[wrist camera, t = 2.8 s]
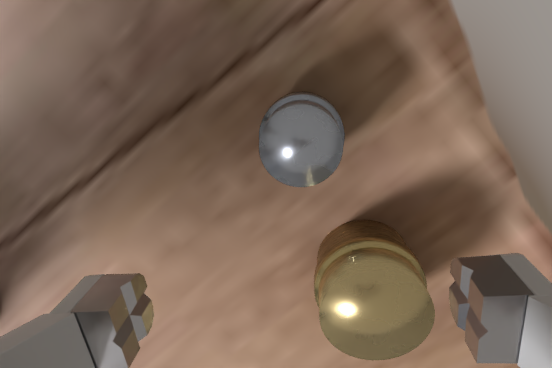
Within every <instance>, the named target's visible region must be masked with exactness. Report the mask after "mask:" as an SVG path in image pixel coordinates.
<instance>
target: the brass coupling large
mask: <svg viewBox="0 0 552 368" xmlns="http://www.w3.org/2000/svg"><path fill="white" fill-rule="evenodd" d="M314 288H315V299H316V302H317V305H318V307H319V317H320V325H321V328H322V331H323V333H324V335H325V336H326V338H327V339H328V340H329V342H330V343H331V344H332V345H333V346H335V347H336V348H337V349H339V350H340V351H342V352H344V353H346V354H348V355H350V356H353V357H356V358H360V359H366V360H386V359H392V358H395V357H399V356H401V355H404V354H406V353H408V352H410V351H412V350H413V349H415V348H416V347H417V346H419V345H420V344H421V343H422V342H423V341H424V340H425V339H426V337H427V336H428V334H429V333H430V331H431V329H432V326H433V323H434V317H435V310H434V305H433V302H432V299H431V297H430V295H429V293H428V291H427V283H426V278H425V275H424V272H423V270H422V268H421V266H420V264H419V262H418V260H417V258H416V257H415V255H414V254H413V252H412V251H411V250H410V249H409V248H408V247H407V246H406V244H405V242H404V240H403V239H402V237H401V236H400V235H399V234H398V233H397V232H396V231H395V230H394V229H392V228H391V227H389V226H387V225H385V224H383V223H380V222H376V221H370V220H358V221H352V222H348V223H346V224H343V225H341V226H339V227H337V228H336V229H334V230H333V231H331V232H330V233H329V234H328V235H327V236H326V237H325V239H324V240H323V242H322V243H321V245H320V248H319V251H318V256H317V266H316V270H315V275H314Z"/></svg>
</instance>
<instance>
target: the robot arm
mask: <svg viewBox="0 0 552 368" xmlns="http://www.w3.org/2000/svg"><path fill="white" fill-rule="evenodd" d="M450 273H451V274H452V276H453V278H454V280H455V282H454V283H453V284H452V285H451V286H450V287H449V302H450V309H451V312H452V315H453V318H454V320H455V322H456V324H457V326H458V327H460V328H461V329H463V330H464V331H465V342H466V344H467V346H468V347H469V349H470V351H471V353H472V355H473V357H474V359H475V361H476V363H518V366H519V367H520V368H552V283H551V282H550V281H549V280H548V279H547V278H546V277H545V276H543V275H542V274H541V273H540V272H539V271H538V270H537V269H536V268H535V267H534V266H533V265H532V264H531V263H530V262H529V261H528V260H527V259H526V258H525V257H524V256H523V255H522V254H519V253H511V254H499V255H490V256H476V257H461V258H453V259H452V262H451V270H450ZM146 288H147V284H146V281H145V278H144V276H143V275H141V274H140V273H135V274H106V275H104V274H101V275H89V276H86V277H84V278H83V279H82V280H81V281H80V282H79V283H78V284H77V285H76V286H75V287H74V288H73V289H72V290H71V292H70V293H69V294H68V295H67V296H66V297H65V298H64V299H63V300H62V301H61V302H60V303H59V304H58V305H57V306H56V307H55V308H54V309H53V310H52V311H51V312H50V313H49V314H43V315H41V316H39V317H37V318H35V319H33V320H31V321H30V322H28V323H26V324H24V325H22V326H20V327H18V328H16V329H14V330H12V331H11V332H9V333H7V334H5V335H3V336H1V337H0V368H129V367H130V365H131V364H132V362H133V360H134V358H135V356H136V355H137V353H138V351H139V349H140V346H139V343H138V341H140V340H141V339H143V338H144V337H145V336H147V334H148V333H149V331H150V329H151V327H152V322H153V317H154V312H153V305H152V301H151V299H150V298H149V297H148V296H146V295H145V294H144V292H145V290H146Z"/></svg>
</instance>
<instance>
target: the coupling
mask: <svg viewBox="0 0 552 368" xmlns="http://www.w3.org/2000/svg"><path fill="white" fill-rule="evenodd" d="M344 135H345V134H344V127H343V123H342V121H341V118H340V116H339V114H338V112H337V110H336V109H335V108H334V106H333V105H332V104H331V103H330V102H329V101H327V100H326V99H324V98H323V97H321V96H319V95H316V94H313V93H309V92H297V93H292V94H289V95H286V96H284V97H282V98H280V99H279V100H277V101H276V102H275V103H274V104H273V105H272V106H271V107H270V108H269V110H268V111H267V113H266V114H265V116H264V118H263V120H262V123H261V126H260V131H259V153H260V157H261V160H262V163H263V165H264V167H265V168H266V170H267V171H268V172H269V173H270V174H271V175H272V176H273V177H274V178H275V179H277V180H278V181H280V182H282V183H284V184H286V185H289V186H294V187H308V186H312V185H316V184H318V183H320V182H322V181H324V180H325V179H327V178H328V177H329V176H330V175H331V174H332V173H333V172H334V171H335V170H336V168H337V167H338V165H339V163H340V160H341V157H342V153H343V145H344Z"/></svg>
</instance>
